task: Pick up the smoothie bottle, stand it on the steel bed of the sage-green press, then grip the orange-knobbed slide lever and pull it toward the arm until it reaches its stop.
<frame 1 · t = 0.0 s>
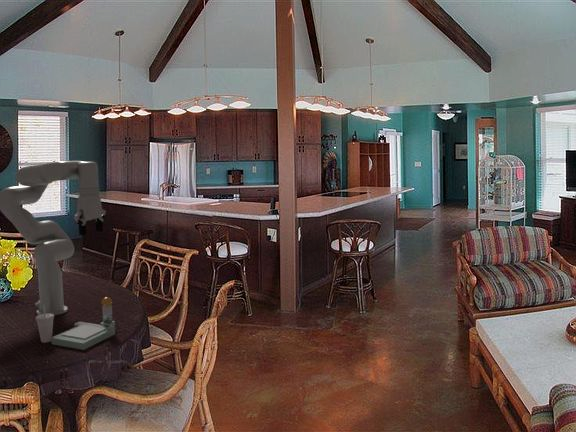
hand: (91, 233, 220), 37 cm above the table, tool pointing down, fingers open, 9 cm apart
lever: (107, 312, 211), point 7 cm above the table, slide at 0.0 cm
press: (84, 339, 203), on the table
smoothie: (46, 341, 201), on the table
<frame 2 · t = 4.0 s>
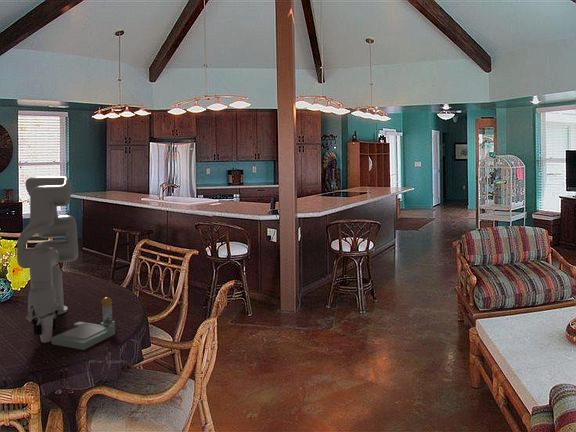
hand: (45, 331, 200), 4 cm above the table, tool pointing down, fingers closed on smoothie, 5 cm apart
smoothie: (46, 341, 201), on the table, touching gripper
everything else where it was.
when the fingers open (8 cm above the table, at t = 10.2 s): smoothie moves 1 cm, resting on press.
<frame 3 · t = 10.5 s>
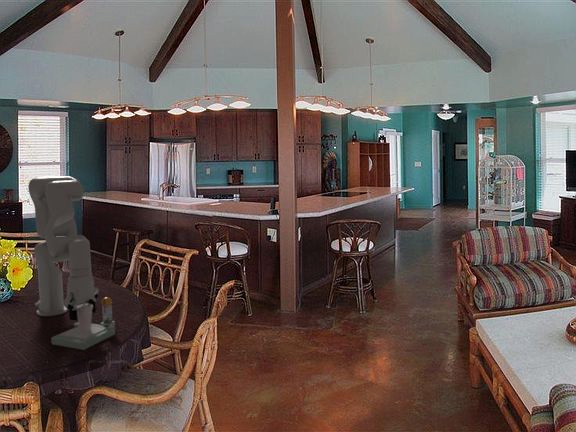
hand: (82, 316, 202), 9 cm above the table, tool pointing down, fingers open, 9 cm apart
smoothie: (85, 331, 203), point 3 cm above the table, touching press
everything else where it was.
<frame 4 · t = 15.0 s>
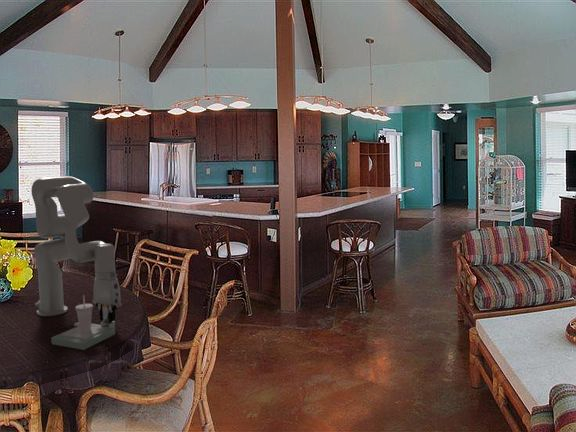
hand: (107, 319, 212), 4 cm above the table, tool pointing down, fingers closed on lever, 3 cm apart
lever: (107, 312, 211), point 7 cm above the table, slide at 0.0 cm, touching gripper
everything else where it was.
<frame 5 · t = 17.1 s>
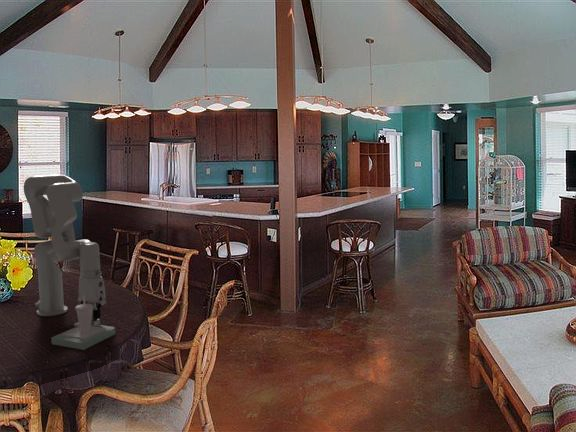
hand: (92, 317, 214), 4 cm above the table, tool pointing down, fingers closed on lever, 3 cm apart
lever: (92, 310, 214), point 7 cm above the table, slide at 7.5 cm, touching gripper
everything else where it was.
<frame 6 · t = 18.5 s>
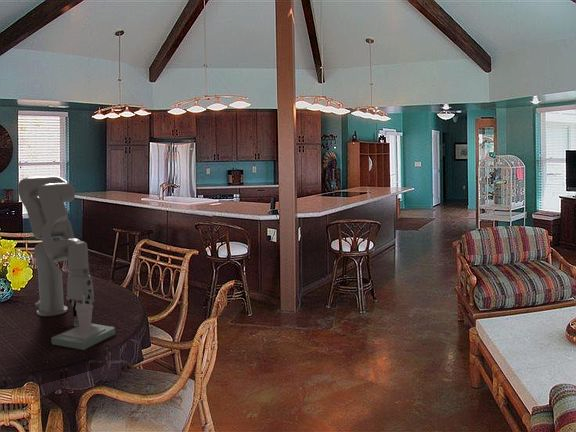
hand: (81, 315, 216), 4 cm above the table, tool pointing down, fingers closed on lever, 3 cm apart
lever: (80, 308, 216), point 7 cm above the table, slide at 13.4 cm, touching gripper
everything else where it was.
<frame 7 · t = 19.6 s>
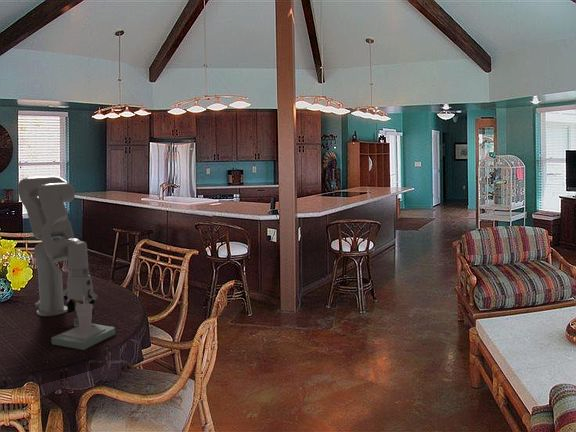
hand: (80, 313, 216), 5 cm above the table, tool pointing down, fingers open, 9 cm apart
lever: (80, 308, 216), point 7 cm above the table, slide at 13.5 cm
everything else where it was.
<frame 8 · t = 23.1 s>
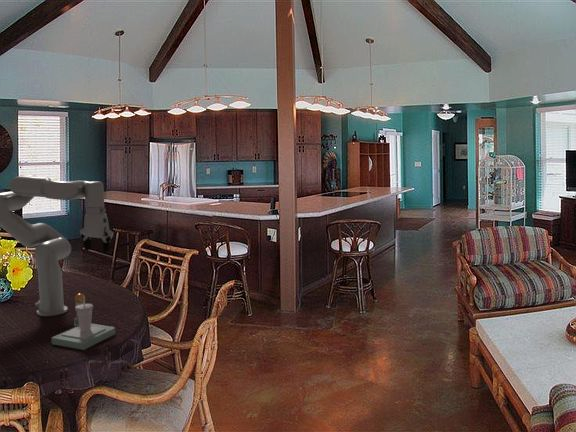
hand: (97, 250, 227), 28 cm above the table, tool pointing down, fingers open, 9 cm apart
nothing on the table moved.
at the end: smoothie inside the target area on the press (1.0 cm from its centre), point 2.8 cm above the press's base; smoothie tilted 0°; lever slide at 13.5 cm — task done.
